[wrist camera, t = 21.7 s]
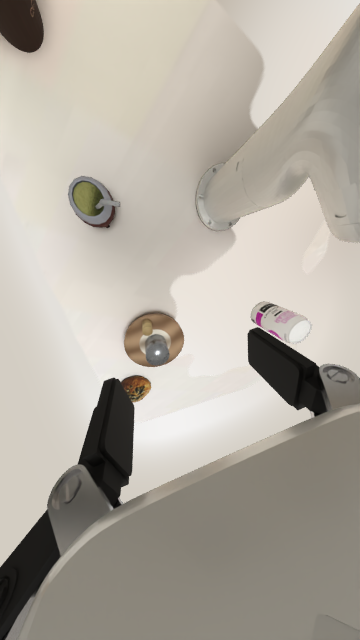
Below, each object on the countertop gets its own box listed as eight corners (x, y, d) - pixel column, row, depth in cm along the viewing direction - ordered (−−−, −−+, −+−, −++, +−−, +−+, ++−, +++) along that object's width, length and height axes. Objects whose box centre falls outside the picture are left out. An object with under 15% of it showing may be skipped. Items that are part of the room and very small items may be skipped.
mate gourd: (73, 197, 30) (19, 152, 16) (110, 183, 30) (87, 128, 17) (95, 237, 33) (66, 227, 20) (128, 224, 34) (121, 205, 20)
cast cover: (151, 331, 41) (152, 342, 36) (169, 338, 44) (173, 350, 38) (141, 348, 43) (141, 361, 37) (159, 354, 45) (162, 368, 40)
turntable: (114, 325, 40) (109, 338, 34) (173, 305, 42) (179, 314, 36) (138, 370, 48) (138, 387, 42) (187, 351, 50) (194, 365, 43)
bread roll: (118, 375, 49) (118, 387, 45) (151, 371, 54) (154, 382, 50) (116, 398, 53) (116, 412, 49) (147, 393, 58) (150, 405, 54)
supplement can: (260, 325, 55) (298, 348, 42) (245, 317, 52) (281, 340, 39) (274, 306, 53) (319, 324, 40) (259, 297, 50) (302, 313, 37)
